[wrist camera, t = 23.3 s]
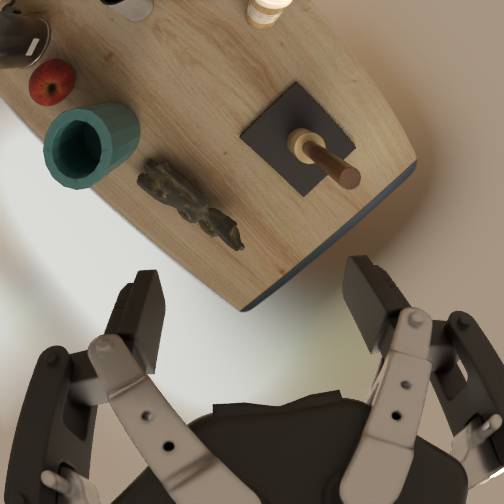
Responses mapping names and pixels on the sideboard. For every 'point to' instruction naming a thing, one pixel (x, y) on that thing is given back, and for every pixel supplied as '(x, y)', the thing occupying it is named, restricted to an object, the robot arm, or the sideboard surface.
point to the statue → (188, 202)
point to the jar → (90, 143)
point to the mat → (282, 124)
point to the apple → (51, 82)
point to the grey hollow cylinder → (131, 8)
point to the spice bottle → (265, 12)
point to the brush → (322, 157)
